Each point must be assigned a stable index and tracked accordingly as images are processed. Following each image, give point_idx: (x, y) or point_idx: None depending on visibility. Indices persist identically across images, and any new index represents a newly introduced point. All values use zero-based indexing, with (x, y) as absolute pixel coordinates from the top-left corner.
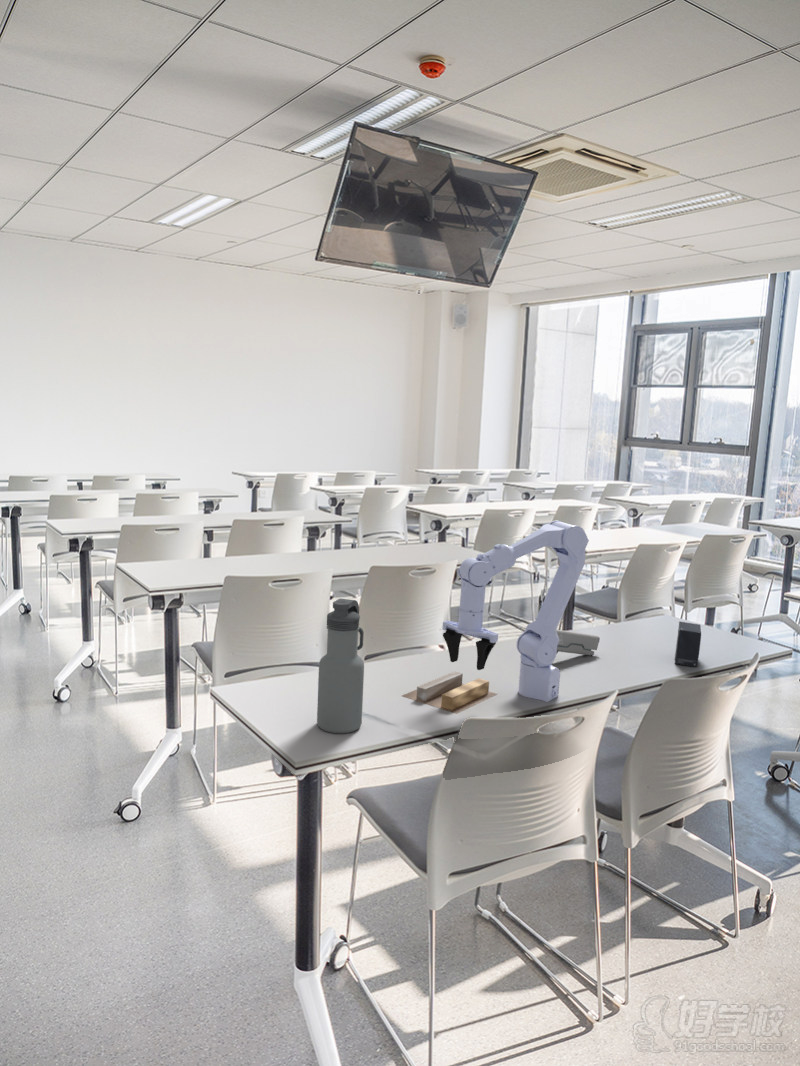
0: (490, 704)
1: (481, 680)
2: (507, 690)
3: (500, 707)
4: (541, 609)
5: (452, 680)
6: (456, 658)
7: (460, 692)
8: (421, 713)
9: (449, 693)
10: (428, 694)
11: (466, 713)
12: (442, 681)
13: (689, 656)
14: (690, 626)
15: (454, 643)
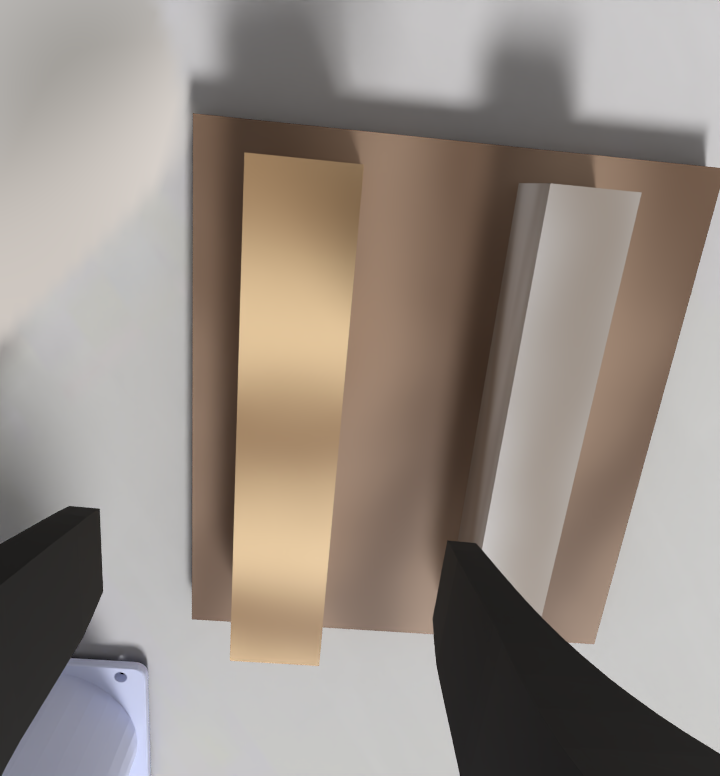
0: (168, 489)
1: (279, 640)
2: (219, 725)
3: (93, 484)
4: None
5: None
6: (439, 622)
7: (262, 319)
8: (453, 12)
9: (321, 231)
10: (521, 236)
11: None
12: (508, 448)
13: None
14: None
15: (505, 765)
